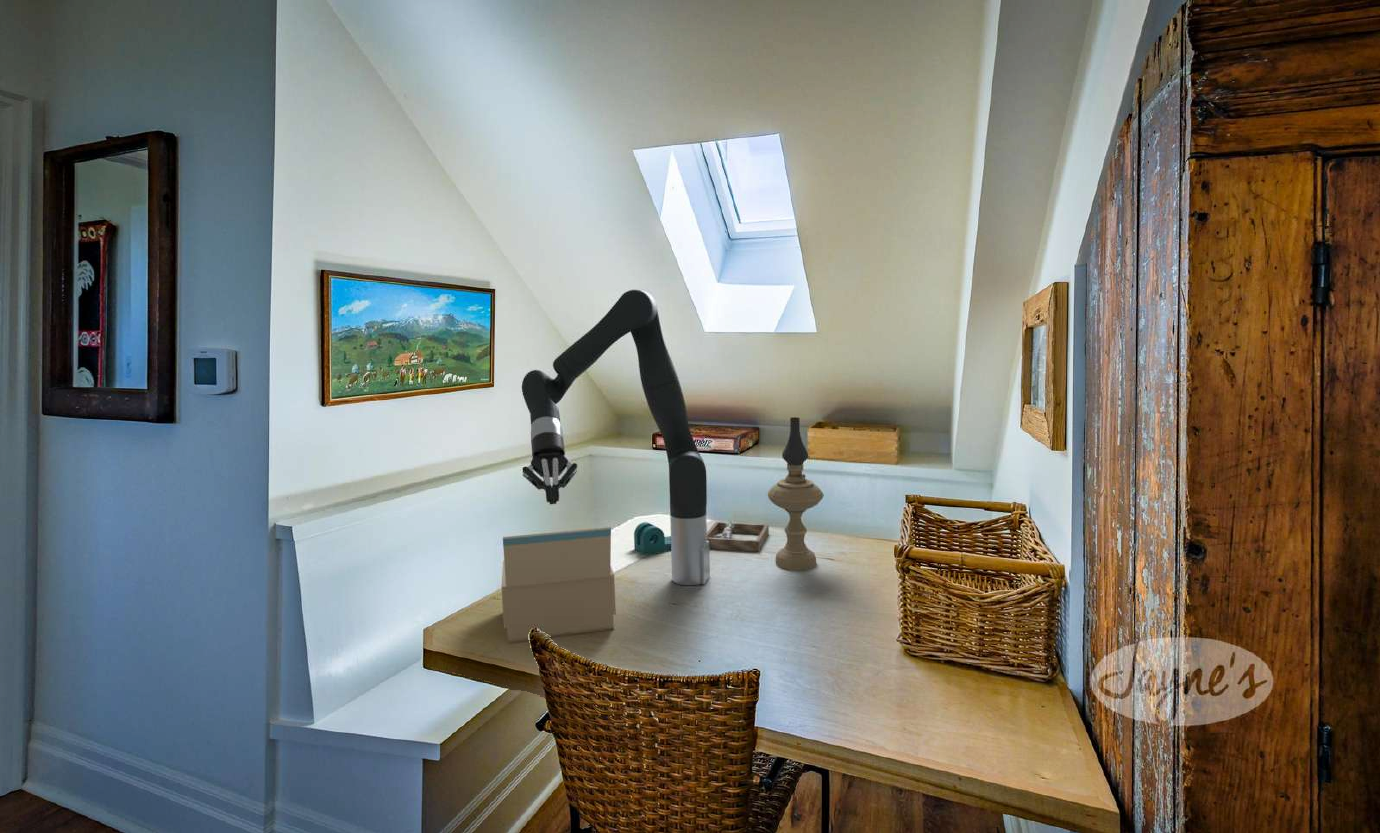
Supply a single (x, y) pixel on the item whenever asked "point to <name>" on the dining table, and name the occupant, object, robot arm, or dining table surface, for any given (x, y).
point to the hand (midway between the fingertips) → (553, 502)
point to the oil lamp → (795, 502)
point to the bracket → (650, 539)
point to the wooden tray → (738, 543)
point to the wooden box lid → (557, 556)
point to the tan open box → (558, 607)
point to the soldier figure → (726, 531)
